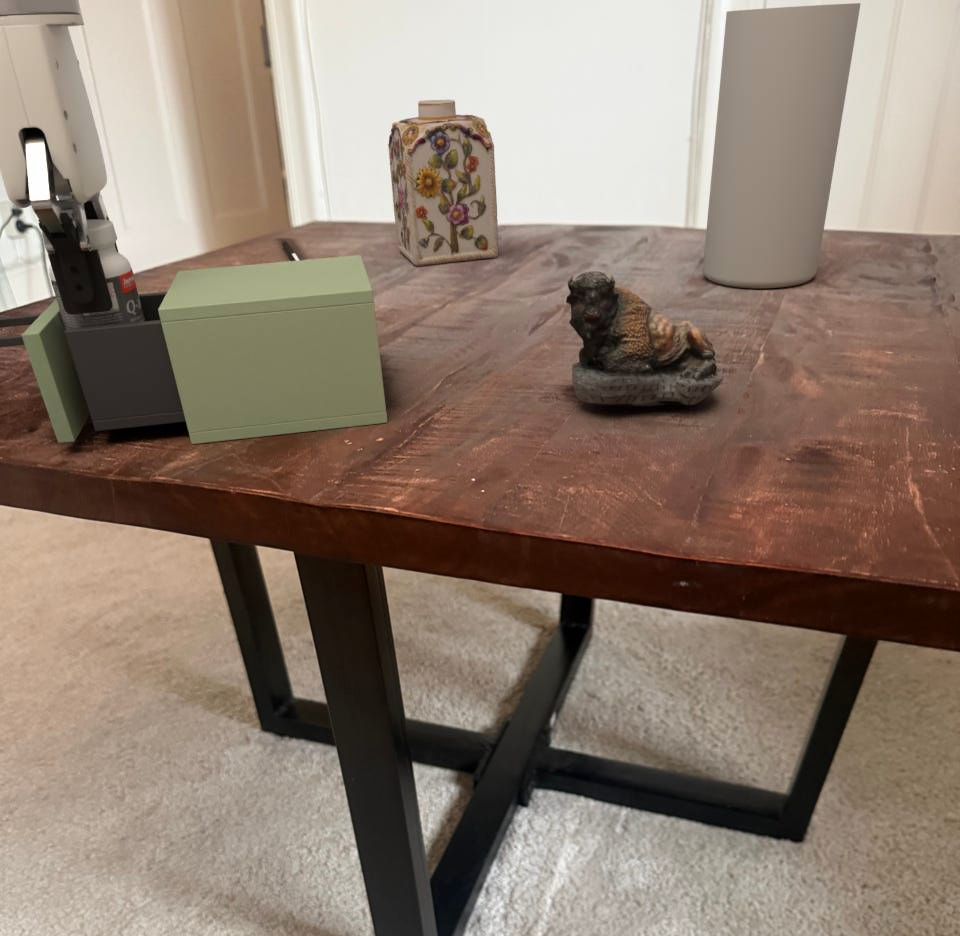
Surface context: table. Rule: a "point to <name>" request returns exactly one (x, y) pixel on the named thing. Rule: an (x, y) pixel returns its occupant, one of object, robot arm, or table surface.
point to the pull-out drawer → (101, 370)
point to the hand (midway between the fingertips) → (97, 298)
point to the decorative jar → (443, 186)
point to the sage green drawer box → (274, 348)
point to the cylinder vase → (776, 142)
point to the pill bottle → (117, 281)
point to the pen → (289, 251)
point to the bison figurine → (635, 349)
